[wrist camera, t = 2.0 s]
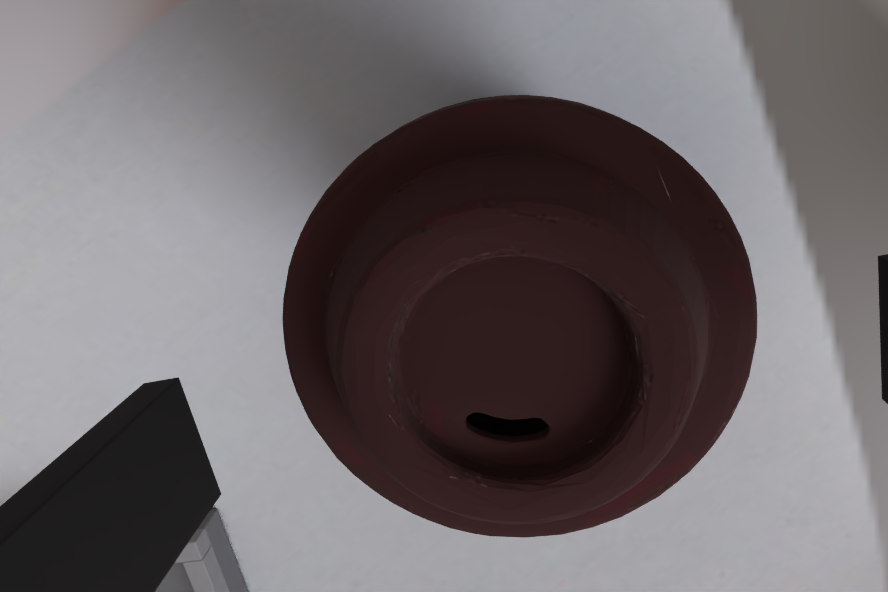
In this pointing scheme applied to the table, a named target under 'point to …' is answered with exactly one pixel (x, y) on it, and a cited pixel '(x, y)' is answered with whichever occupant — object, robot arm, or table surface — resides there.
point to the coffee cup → (520, 316)
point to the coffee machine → (205, 562)
